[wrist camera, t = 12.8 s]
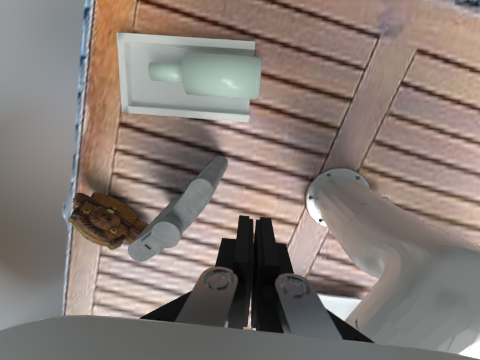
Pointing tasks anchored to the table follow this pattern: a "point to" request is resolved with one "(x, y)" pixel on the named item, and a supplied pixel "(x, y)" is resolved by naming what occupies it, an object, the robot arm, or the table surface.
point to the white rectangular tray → (172, 93)
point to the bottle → (212, 75)
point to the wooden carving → (105, 220)
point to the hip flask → (179, 213)
